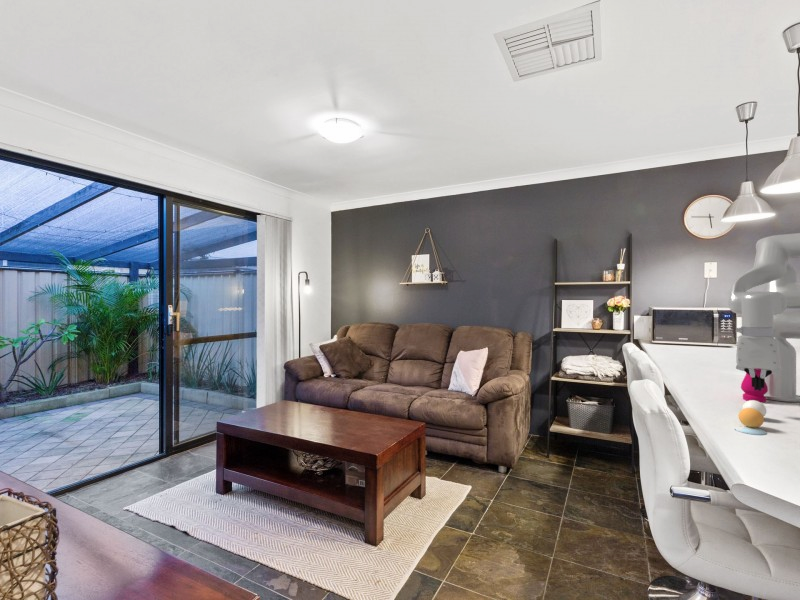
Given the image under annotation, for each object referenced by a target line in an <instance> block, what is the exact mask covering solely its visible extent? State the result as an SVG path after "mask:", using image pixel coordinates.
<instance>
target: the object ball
mask: <svg viewBox="0 0 800 600" xmlns="http://www.w3.org/2000/svg"><path fill="white" fill-rule="evenodd" d="M738 420H739V422H740V423H741V424H742V426H747V427H751V428H759V427H761V426H762V425H763V424H764V421H765V416H764V417H763V415H762V414H761V413H760V412H759V411H758V410H756V409H753V408H745V409H743V408H742V409H741V410H740V411H739V412H738Z"/></svg>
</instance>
